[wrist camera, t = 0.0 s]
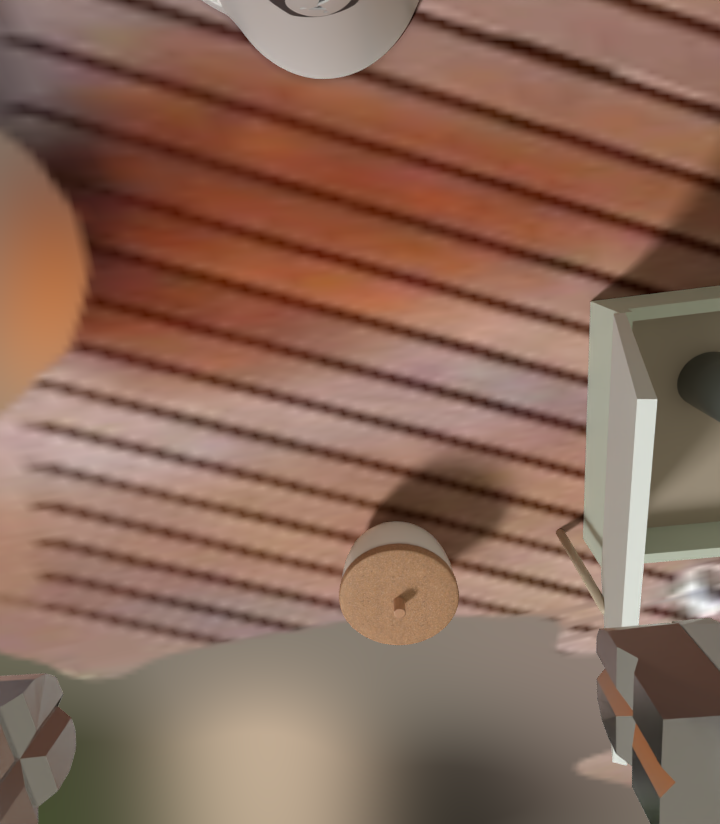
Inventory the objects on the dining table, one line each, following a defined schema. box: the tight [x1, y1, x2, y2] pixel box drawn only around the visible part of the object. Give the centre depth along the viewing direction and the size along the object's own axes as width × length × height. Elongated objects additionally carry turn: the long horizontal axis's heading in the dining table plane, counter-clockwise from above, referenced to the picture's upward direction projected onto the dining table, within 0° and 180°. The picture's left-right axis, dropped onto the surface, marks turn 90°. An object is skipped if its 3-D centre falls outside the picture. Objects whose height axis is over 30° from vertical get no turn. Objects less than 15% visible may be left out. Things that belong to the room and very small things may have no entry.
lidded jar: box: [339, 521, 459, 645], centre depth 49 cm, size 11×11×9 cm
